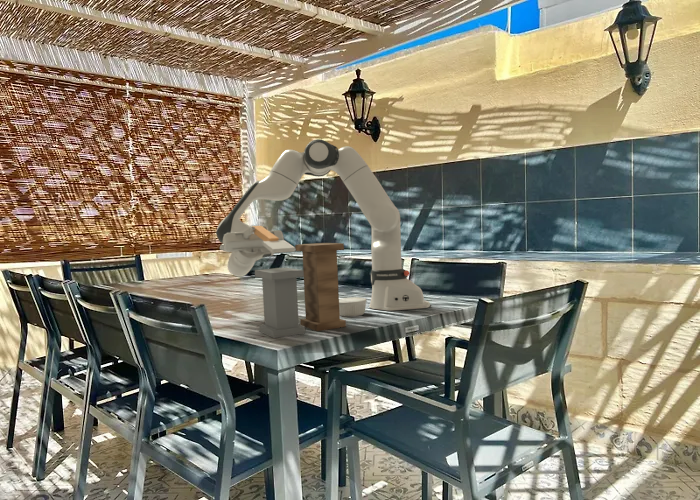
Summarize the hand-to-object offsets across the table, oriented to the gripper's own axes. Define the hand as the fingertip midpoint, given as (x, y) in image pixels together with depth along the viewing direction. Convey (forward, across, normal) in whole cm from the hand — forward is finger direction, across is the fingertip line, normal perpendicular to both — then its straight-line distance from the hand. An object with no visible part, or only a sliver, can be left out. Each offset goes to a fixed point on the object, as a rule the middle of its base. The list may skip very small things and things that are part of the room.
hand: (259, 228), depth 175 cm
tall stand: (-3, +14, +35) cm, 38 cm away
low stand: (-3, 0, +35) cm, 35 cm away
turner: (+5, 0, +8) cm, 9 cm away
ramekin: (-14, +32, +29) cm, 45 cm away
